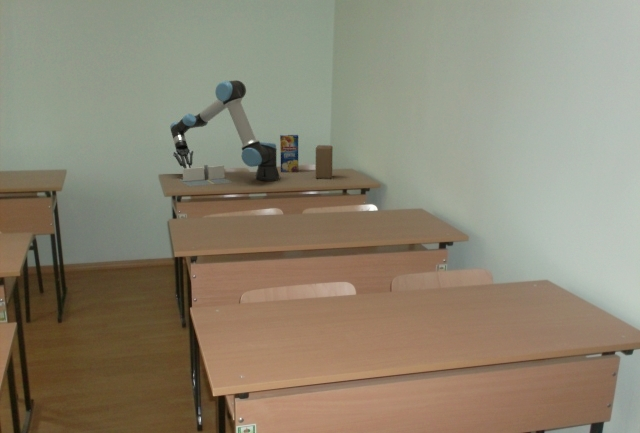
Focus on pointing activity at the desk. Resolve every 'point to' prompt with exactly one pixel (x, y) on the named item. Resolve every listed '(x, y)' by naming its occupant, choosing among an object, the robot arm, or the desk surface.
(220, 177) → the fence
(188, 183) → the card
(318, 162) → the wooden block
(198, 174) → the hinged panel
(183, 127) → the robot arm
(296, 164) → the juice carton
